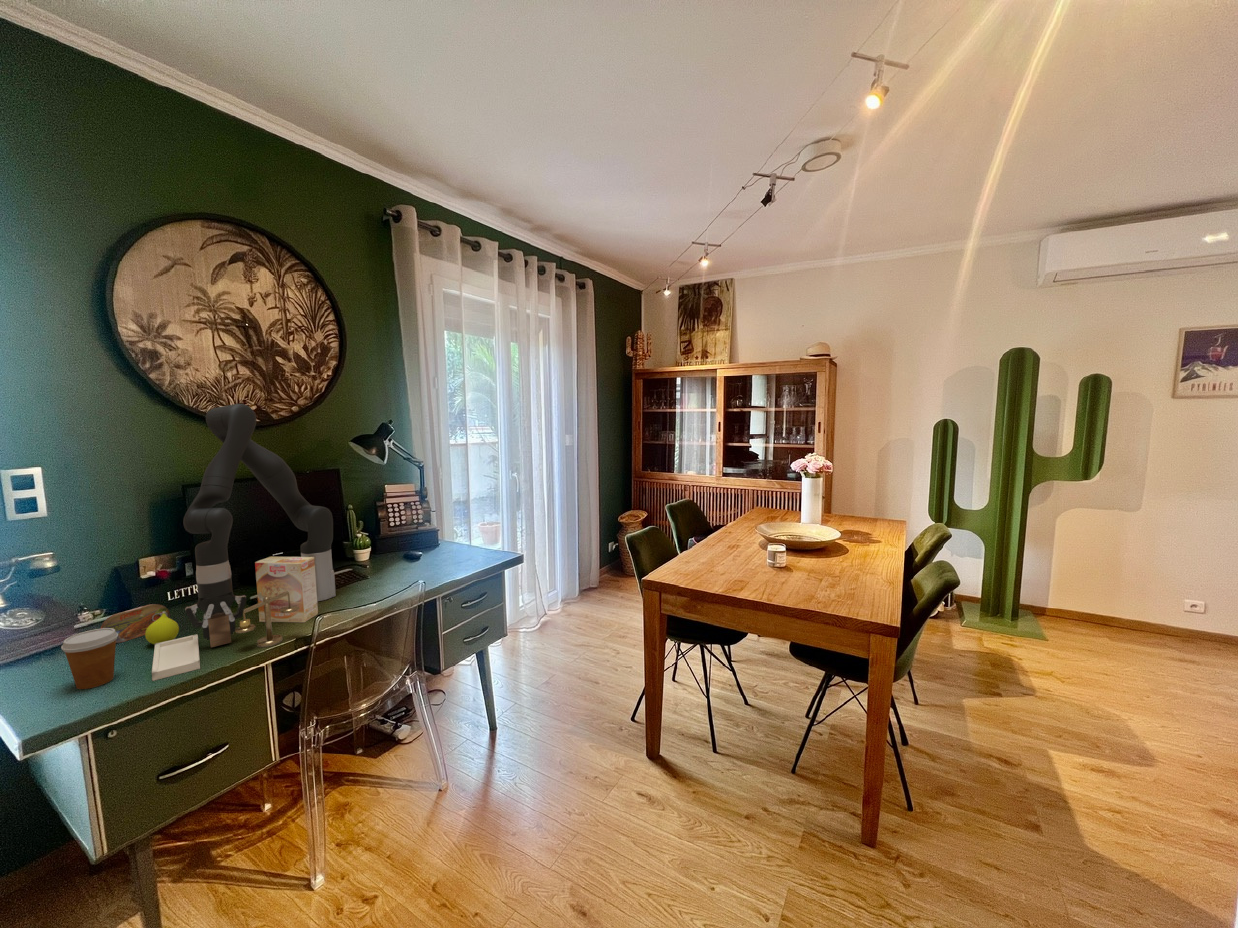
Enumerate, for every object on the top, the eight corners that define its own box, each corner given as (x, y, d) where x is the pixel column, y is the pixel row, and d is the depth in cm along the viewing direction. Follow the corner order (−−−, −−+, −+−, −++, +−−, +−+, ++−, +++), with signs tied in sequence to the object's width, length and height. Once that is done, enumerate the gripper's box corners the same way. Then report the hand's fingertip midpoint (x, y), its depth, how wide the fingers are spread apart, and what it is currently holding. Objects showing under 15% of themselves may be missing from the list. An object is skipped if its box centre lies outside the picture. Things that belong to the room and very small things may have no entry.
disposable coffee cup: (72, 697, 115) (66, 648, 114) (61, 685, 120) (55, 638, 119) (128, 678, 123) (123, 632, 122) (116, 668, 128) (111, 624, 127)
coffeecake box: (258, 622, 156) (253, 562, 154) (275, 613, 163) (270, 555, 161) (304, 622, 156) (300, 562, 154) (318, 613, 163) (315, 556, 161)
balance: (299, 631, 149) (295, 586, 148) (302, 638, 145) (299, 591, 143) (235, 647, 139) (231, 599, 138) (237, 654, 135) (233, 605, 133)
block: (230, 636, 144) (227, 610, 143) (231, 642, 141) (228, 615, 140) (210, 641, 141) (207, 614, 140) (210, 647, 138) (208, 619, 137)
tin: (104, 647, 140) (101, 619, 139) (100, 645, 141) (96, 617, 140) (171, 627, 153) (169, 600, 152) (166, 625, 154) (164, 599, 154)
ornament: (176, 635, 147) (172, 603, 146) (183, 641, 143) (180, 608, 142) (143, 644, 141) (139, 611, 140) (150, 651, 137) (146, 617, 136)
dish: (198, 640, 144) (197, 634, 143) (200, 668, 128) (199, 660, 128) (155, 650, 138) (155, 643, 137) (152, 680, 122) (151, 673, 122)
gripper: (244, 569, 146) (249, 624, 148) (180, 580, 137) (186, 639, 139) (247, 575, 141) (252, 632, 143) (180, 587, 131) (186, 648, 133)
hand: (219, 635), depth 141 cm, fingers closed on block, 4 cm apart
